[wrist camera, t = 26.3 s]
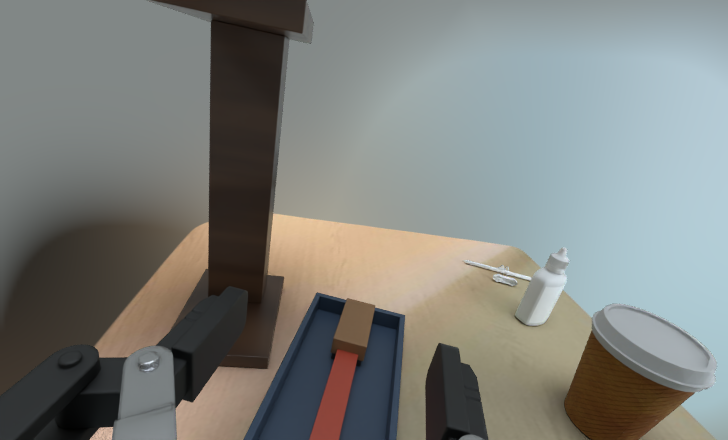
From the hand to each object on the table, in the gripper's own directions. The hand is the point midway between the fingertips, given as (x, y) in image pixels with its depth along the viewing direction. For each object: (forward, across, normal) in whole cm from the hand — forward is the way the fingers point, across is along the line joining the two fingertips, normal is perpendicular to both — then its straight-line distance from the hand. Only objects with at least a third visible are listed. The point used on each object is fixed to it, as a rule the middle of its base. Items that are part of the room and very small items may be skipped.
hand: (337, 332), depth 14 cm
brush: (+14, 0, +18) cm, 23 cm away
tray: (+13, 0, +19) cm, 23 cm away
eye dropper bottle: (+34, -25, +19) cm, 47 cm away
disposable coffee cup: (+18, -27, +19) cm, 38 cm away
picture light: (+45, -23, +19) cm, 54 cm away
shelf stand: (+19, +14, +19) cm, 30 cm away
